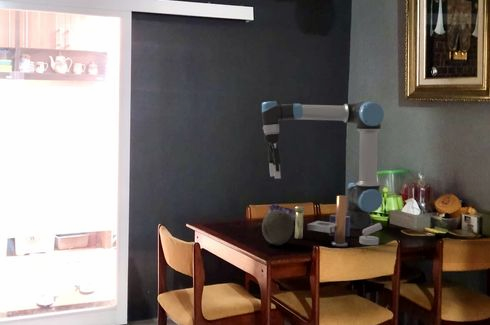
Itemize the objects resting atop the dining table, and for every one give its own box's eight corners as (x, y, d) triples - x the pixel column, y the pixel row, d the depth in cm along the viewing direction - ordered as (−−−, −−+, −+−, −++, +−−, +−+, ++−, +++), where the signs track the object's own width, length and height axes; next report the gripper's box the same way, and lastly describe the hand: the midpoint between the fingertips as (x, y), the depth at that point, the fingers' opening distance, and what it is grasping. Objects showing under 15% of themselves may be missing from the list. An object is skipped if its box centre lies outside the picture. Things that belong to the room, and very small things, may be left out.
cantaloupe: (295, 248, 256) (296, 213, 255) (262, 247, 255) (264, 213, 254) (290, 241, 270) (291, 208, 269) (259, 240, 269) (260, 208, 268)
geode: (259, 219, 324) (261, 201, 324) (275, 220, 330) (277, 202, 331) (282, 224, 307) (284, 205, 307) (299, 225, 314) (301, 206, 314)
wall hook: (385, 224, 267) (363, 224, 266) (384, 245, 268) (362, 245, 267) (379, 220, 275) (358, 220, 275) (378, 241, 276) (357, 240, 275)
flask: (349, 236, 286) (350, 212, 285) (349, 237, 283) (350, 213, 282) (329, 234, 289) (330, 210, 288) (328, 235, 286) (329, 211, 285)
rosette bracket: (306, 242, 268) (308, 194, 266) (317, 238, 277) (319, 192, 275) (341, 248, 259) (344, 198, 257) (351, 244, 268) (353, 195, 266)
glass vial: (302, 236, 280) (303, 206, 279) (304, 238, 276) (305, 207, 275) (293, 236, 280) (294, 206, 279) (295, 238, 276) (296, 207, 274)
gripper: (260, 134, 299) (263, 176, 300) (268, 134, 274) (272, 180, 276) (274, 132, 300) (278, 174, 301) (284, 132, 275) (287, 178, 276)
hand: (275, 177), depth 288 cm, fingers open, 13 cm apart
